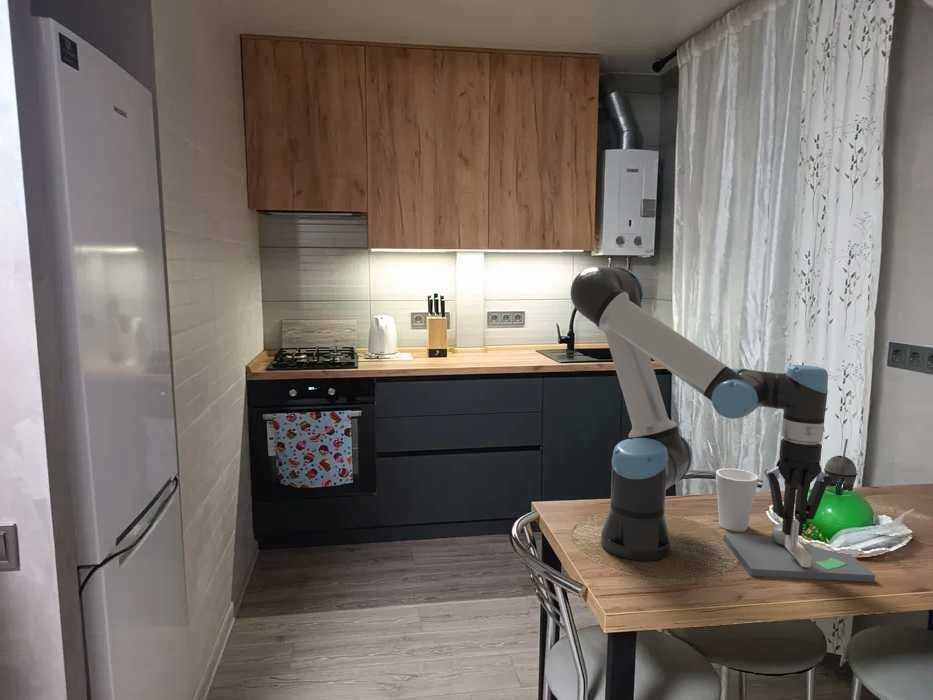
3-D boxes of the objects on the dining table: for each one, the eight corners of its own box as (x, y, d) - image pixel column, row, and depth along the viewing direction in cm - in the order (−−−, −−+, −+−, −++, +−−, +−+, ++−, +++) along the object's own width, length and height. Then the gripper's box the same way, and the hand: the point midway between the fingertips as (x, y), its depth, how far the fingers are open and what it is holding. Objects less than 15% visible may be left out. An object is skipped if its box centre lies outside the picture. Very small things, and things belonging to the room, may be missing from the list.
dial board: (750, 575, 126) (751, 568, 125) (723, 539, 143) (723, 533, 142) (874, 582, 124) (875, 574, 124) (831, 545, 141) (832, 538, 140)
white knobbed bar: (768, 535, 141) (769, 523, 140) (792, 536, 140) (793, 525, 140) (793, 566, 126) (794, 552, 126) (819, 568, 125) (820, 554, 125)
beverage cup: (813, 511, 160) (820, 436, 158) (833, 508, 163) (840, 434, 160) (839, 522, 153) (846, 444, 151) (859, 518, 156) (867, 441, 153)
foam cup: (742, 537, 144) (746, 483, 142) (705, 525, 151) (708, 473, 149) (760, 526, 150) (764, 475, 148) (723, 515, 157) (727, 465, 155)
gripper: (776, 442, 125) (765, 554, 127) (842, 446, 124) (831, 559, 126) (762, 434, 132) (752, 539, 135) (824, 437, 131) (814, 544, 134)
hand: (790, 549), depth 130 cm, fingers closed
